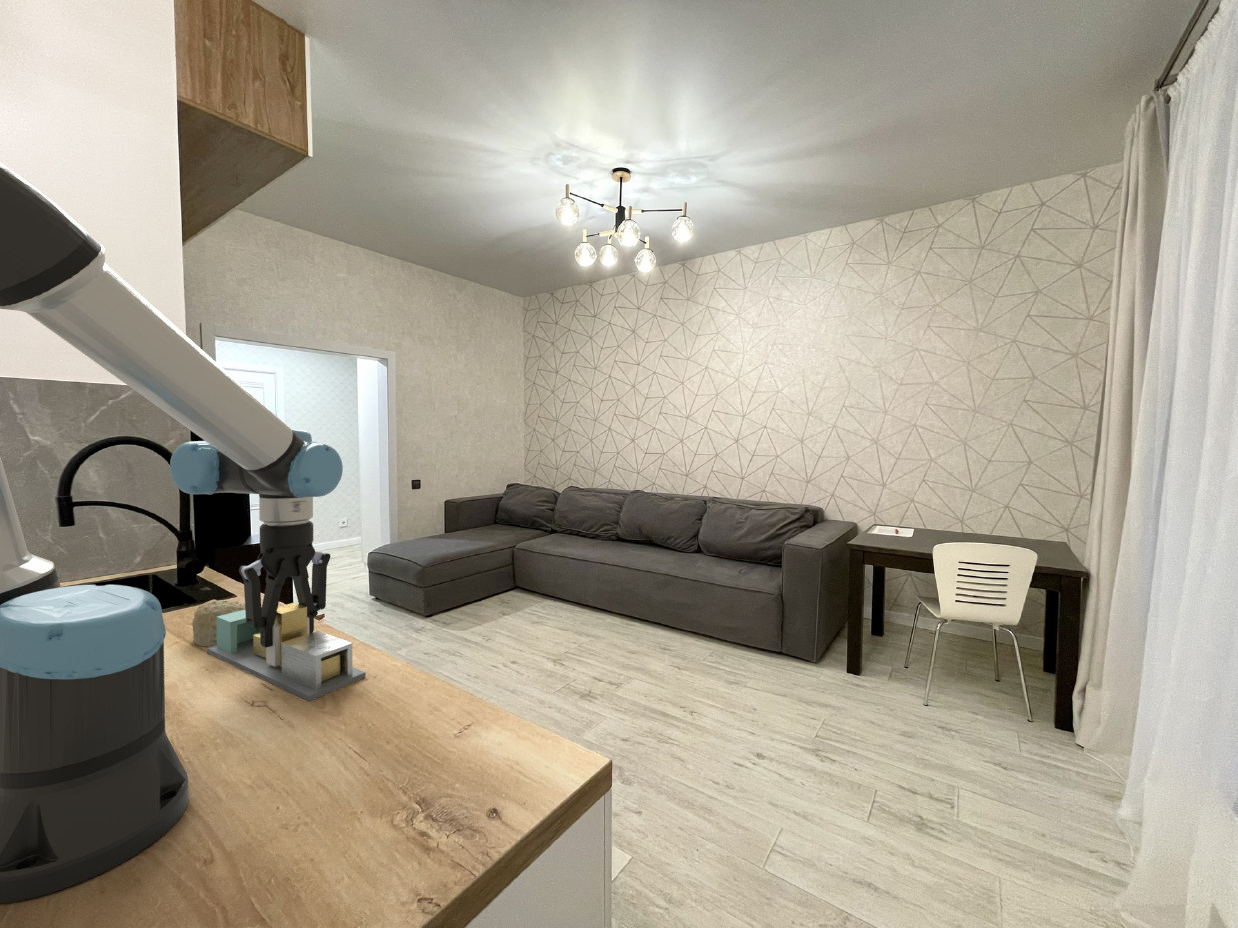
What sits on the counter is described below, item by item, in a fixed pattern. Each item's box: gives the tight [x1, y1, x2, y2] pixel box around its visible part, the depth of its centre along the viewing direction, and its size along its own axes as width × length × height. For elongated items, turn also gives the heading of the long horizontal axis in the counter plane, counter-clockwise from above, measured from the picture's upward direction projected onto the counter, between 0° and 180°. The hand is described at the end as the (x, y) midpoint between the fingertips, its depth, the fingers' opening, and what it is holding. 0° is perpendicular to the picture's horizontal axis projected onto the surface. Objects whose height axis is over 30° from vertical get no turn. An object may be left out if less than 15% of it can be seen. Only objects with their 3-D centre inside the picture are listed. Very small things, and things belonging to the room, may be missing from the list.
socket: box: [216, 606, 262, 654], centre depth 92 cm, size 7×5×6 cm
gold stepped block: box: [253, 602, 340, 682], centre depth 84 cm, size 4×20×9 cm, turn 61°
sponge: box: [192, 599, 245, 647], centre depth 97 cm, size 9×10×10 cm
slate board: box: [206, 639, 367, 702], centre depth 86 cm, size 9×32×1 cm, turn 61°
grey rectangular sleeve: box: [282, 630, 353, 689], centre depth 81 cm, size 6×10×5 cm, turn 61°
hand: (288, 658), depth 85 cm, fingers closed on gold stepped block, 4 cm apart
